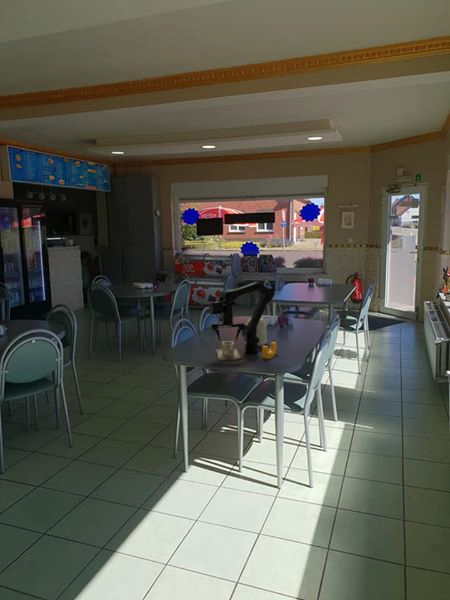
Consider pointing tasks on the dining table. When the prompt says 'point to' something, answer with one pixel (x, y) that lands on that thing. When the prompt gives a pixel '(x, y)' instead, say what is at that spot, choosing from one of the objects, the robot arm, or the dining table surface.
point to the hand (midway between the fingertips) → (227, 340)
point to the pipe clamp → (269, 351)
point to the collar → (228, 348)
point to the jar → (261, 331)
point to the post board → (228, 357)
